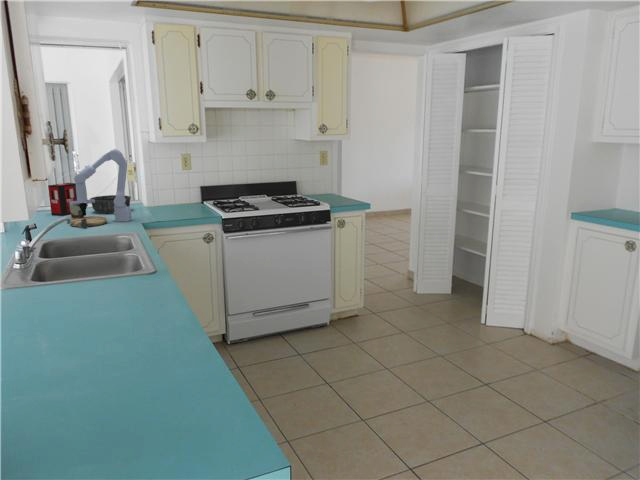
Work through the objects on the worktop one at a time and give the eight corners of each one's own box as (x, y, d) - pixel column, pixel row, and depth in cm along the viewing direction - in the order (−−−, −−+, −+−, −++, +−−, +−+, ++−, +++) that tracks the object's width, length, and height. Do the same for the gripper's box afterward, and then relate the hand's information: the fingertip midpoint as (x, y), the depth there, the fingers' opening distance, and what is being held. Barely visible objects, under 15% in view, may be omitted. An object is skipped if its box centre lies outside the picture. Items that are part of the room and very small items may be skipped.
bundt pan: (132, 213, 335) (131, 199, 332) (90, 216, 325) (88, 201, 323) (131, 207, 359) (130, 194, 356) (92, 210, 349) (90, 196, 347)
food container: (90, 218, 317) (89, 202, 315) (81, 219, 312) (80, 204, 310) (78, 216, 323) (77, 201, 321) (70, 217, 318) (68, 202, 316)
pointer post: (86, 228, 285) (85, 219, 284) (82, 228, 285) (81, 220, 284) (88, 226, 290) (87, 218, 288) (83, 227, 289) (82, 218, 288)
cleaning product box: (71, 211, 342) (68, 182, 338) (81, 212, 340) (78, 183, 335) (51, 215, 327) (48, 185, 323) (62, 216, 324) (58, 185, 320)
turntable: (113, 222, 301) (112, 211, 299) (82, 228, 284) (81, 215, 283) (94, 219, 311) (93, 208, 310) (63, 224, 295) (62, 212, 294)
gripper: (90, 191, 307) (92, 213, 311) (66, 194, 296) (69, 216, 299) (95, 192, 303) (97, 214, 306) (72, 195, 292) (74, 217, 295)
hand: (84, 215), depth 303 cm, fingers closed, pressing on turntable
